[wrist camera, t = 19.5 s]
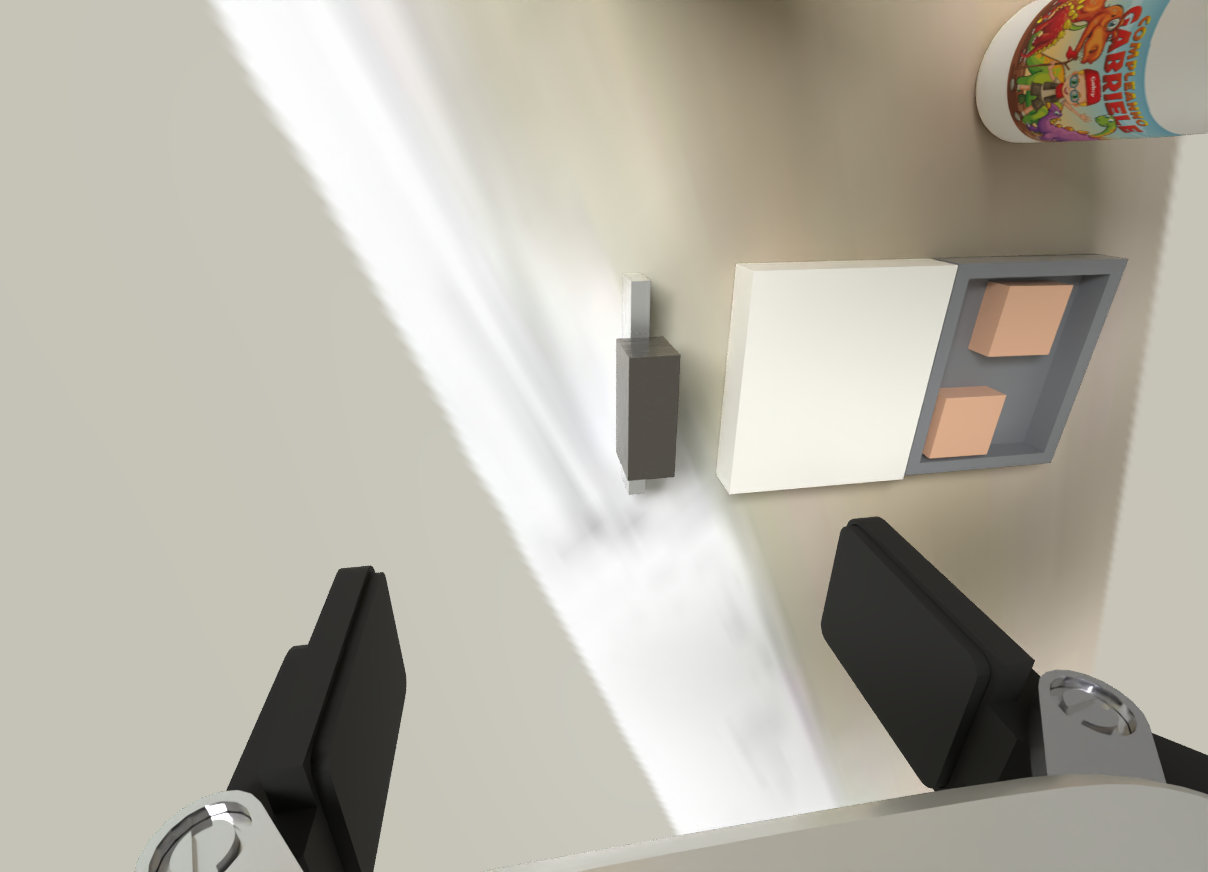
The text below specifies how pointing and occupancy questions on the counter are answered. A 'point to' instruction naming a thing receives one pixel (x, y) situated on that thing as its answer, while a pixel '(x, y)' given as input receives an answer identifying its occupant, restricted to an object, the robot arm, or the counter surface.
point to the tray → (1018, 358)
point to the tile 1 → (963, 421)
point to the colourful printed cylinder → (1097, 71)
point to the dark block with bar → (644, 392)
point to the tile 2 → (1019, 317)
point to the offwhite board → (828, 370)
